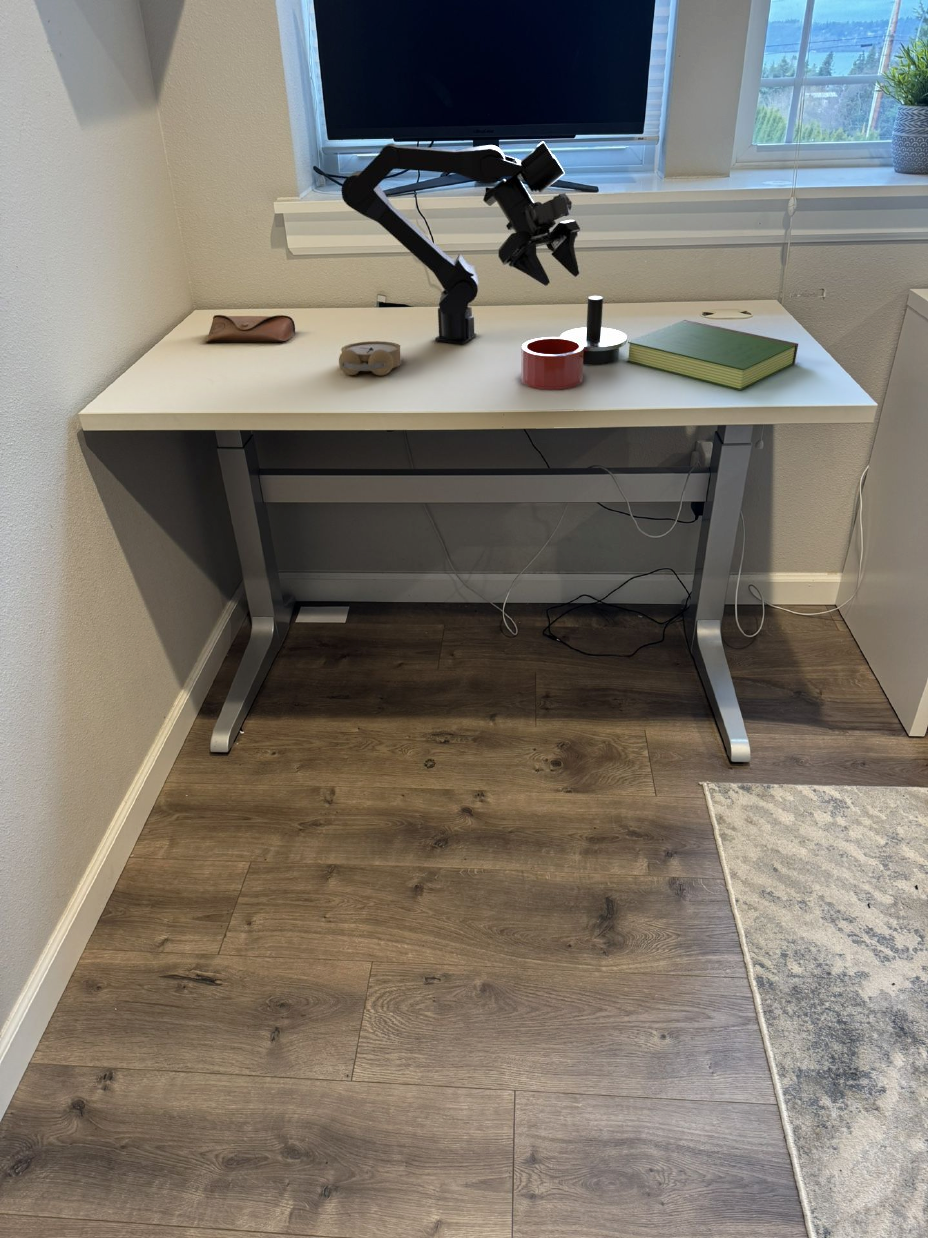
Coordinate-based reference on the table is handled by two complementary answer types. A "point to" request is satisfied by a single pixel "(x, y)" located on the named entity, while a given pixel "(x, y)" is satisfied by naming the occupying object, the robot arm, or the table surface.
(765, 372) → the hardcover book
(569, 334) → the lid
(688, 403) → the table surface
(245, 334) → the sunglasses case
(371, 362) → the alarm clock
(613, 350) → the stand
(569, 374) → the red faceted pot
